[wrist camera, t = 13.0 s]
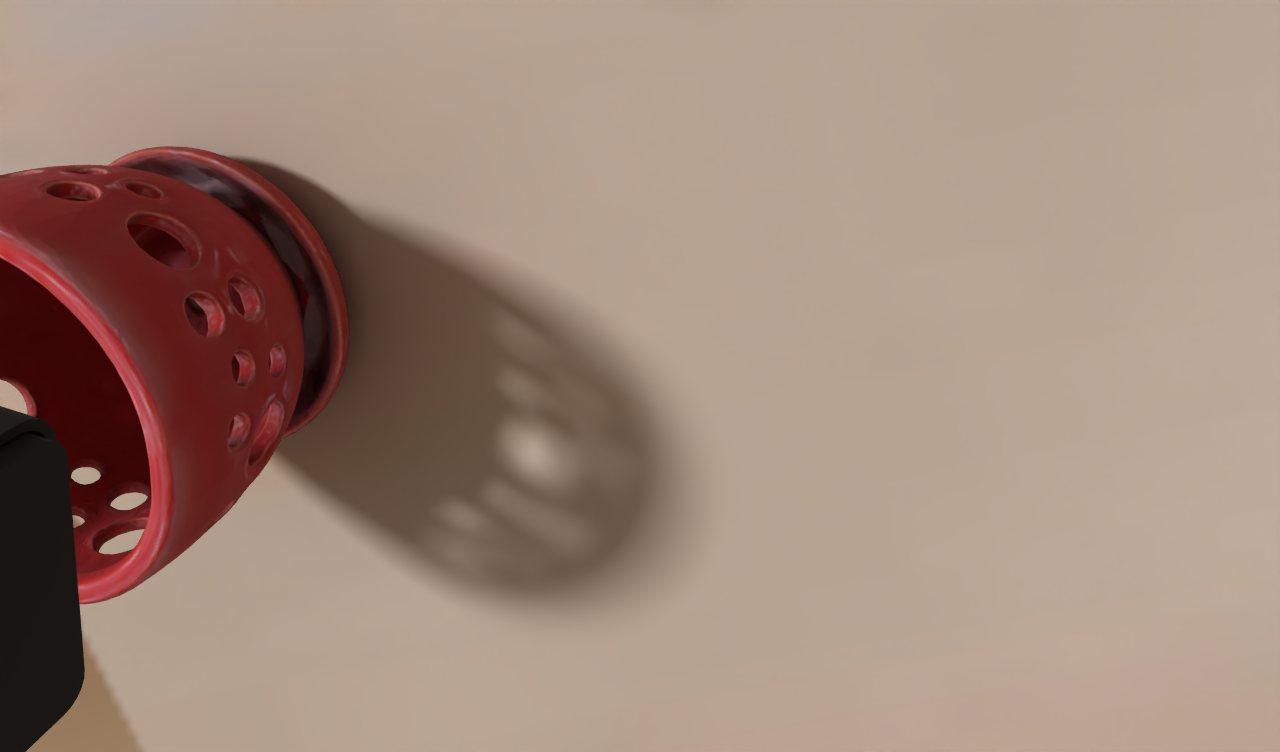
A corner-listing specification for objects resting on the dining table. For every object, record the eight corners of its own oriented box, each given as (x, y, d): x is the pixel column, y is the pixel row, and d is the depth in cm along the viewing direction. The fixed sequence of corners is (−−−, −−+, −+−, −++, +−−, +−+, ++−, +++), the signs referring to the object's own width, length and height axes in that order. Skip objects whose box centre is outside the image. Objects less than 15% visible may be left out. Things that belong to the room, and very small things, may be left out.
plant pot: (243, 49, 39) (-28, 126, 29) (440, 372, 43) (262, 546, 32) (11, 204, 45) (-287, 316, 34) (202, 479, 48) (-16, 658, 38)
